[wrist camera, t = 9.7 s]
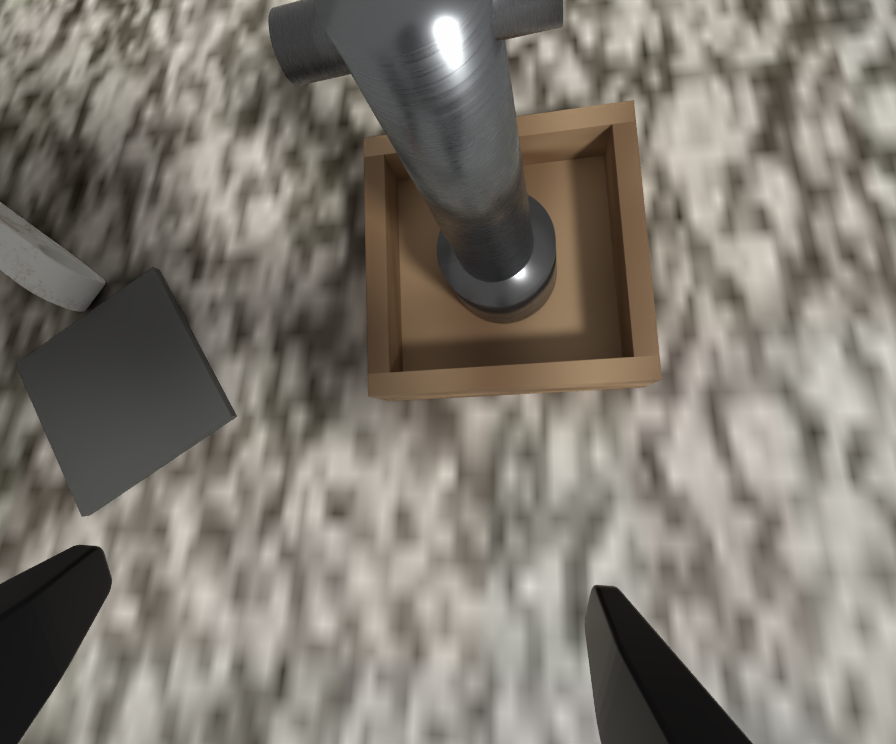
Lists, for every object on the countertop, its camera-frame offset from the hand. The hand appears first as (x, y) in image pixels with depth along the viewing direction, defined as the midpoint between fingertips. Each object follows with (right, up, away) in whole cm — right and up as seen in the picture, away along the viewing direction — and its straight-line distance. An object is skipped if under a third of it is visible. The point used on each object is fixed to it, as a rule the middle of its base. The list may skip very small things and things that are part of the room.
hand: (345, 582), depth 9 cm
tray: (+4, +8, +11) cm, 14 cm away
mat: (-13, +3, +13) cm, 19 cm away
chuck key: (+4, +8, +10) cm, 14 cm away
